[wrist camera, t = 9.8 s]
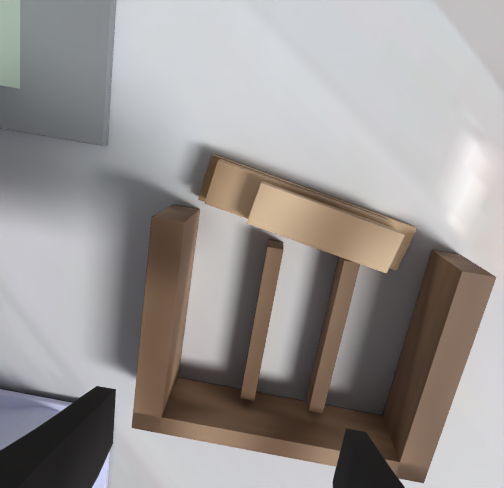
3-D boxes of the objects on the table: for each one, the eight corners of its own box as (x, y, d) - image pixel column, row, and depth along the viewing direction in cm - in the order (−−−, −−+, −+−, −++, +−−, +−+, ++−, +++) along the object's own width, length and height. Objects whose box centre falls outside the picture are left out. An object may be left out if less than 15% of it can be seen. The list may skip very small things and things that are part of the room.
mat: (-96, 110, 20) (-107, 109, 20) (-114, -142, 18) (-128, -151, 17) (107, 145, 20) (102, 145, 20) (122, -106, 17) (116, -114, 17)
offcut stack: (202, 196, 21) (189, 205, 18) (215, 153, 20) (204, 156, 17) (391, 264, 21) (408, 284, 18) (410, 224, 21) (431, 238, 18)
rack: (152, 387, 24) (131, 427, 20) (172, 204, 21) (151, 216, 17) (403, 433, 23) (423, 483, 20) (460, 254, 20) (496, 277, 17)
